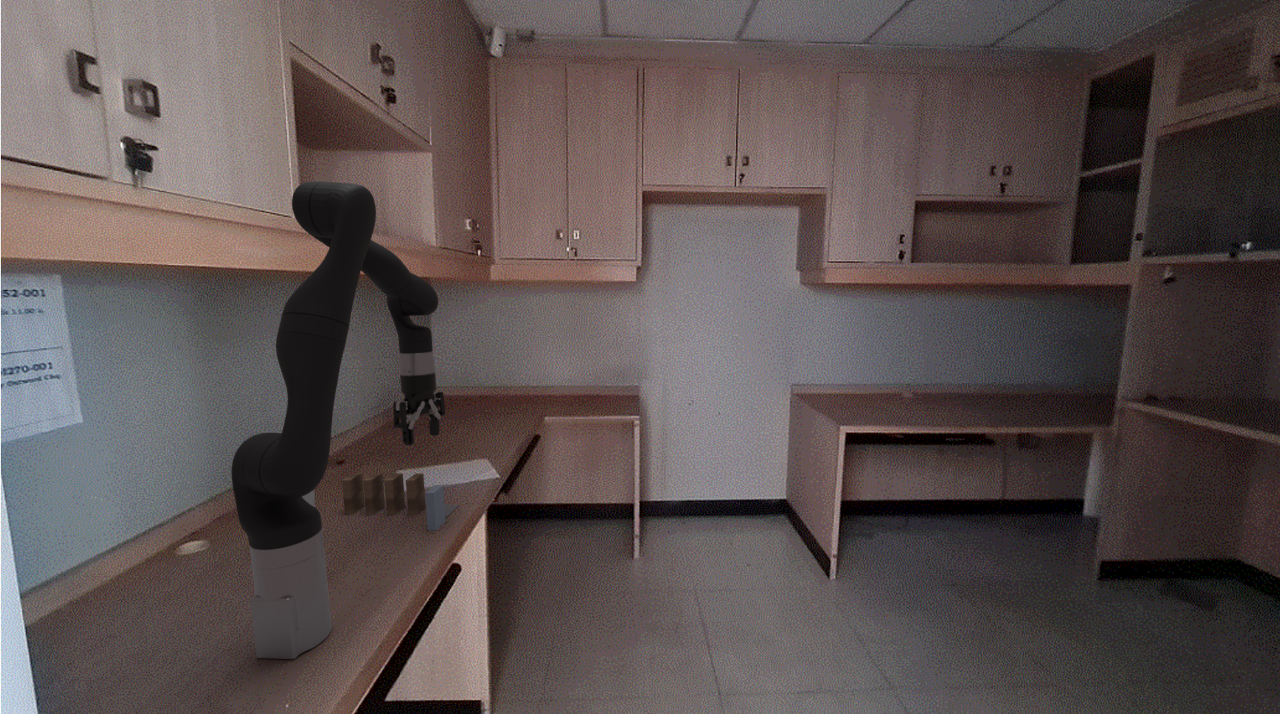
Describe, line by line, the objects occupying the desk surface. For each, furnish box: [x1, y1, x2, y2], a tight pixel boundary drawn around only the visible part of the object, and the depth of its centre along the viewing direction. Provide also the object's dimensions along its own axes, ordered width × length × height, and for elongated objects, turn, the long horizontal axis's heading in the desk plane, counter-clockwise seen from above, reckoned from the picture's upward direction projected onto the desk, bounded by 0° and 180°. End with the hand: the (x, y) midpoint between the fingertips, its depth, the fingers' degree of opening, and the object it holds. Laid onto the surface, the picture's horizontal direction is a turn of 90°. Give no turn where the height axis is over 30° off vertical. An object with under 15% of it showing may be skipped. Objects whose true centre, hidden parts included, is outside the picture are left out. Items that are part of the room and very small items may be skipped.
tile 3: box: [383, 472, 406, 516], centre depth 127 cm, size 5×2×9 cm, turn 176°
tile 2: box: [405, 472, 426, 516], centre depth 126 cm, size 5×2×9 cm, turn 176°
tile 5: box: [341, 472, 365, 516], centre depth 128 cm, size 5×2×9 cm, turn 176°
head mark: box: [445, 504, 460, 518], centre depth 127 cm, size 7×4×1 cm, turn 176°
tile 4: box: [362, 472, 386, 516], centre depth 127 cm, size 5×2×9 cm, turn 176°
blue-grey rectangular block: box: [425, 484, 447, 531], centre depth 118 cm, size 5×2×9 cm, turn 176°
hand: (422, 439), depth 117 cm, fingers open, 8 cm apart
